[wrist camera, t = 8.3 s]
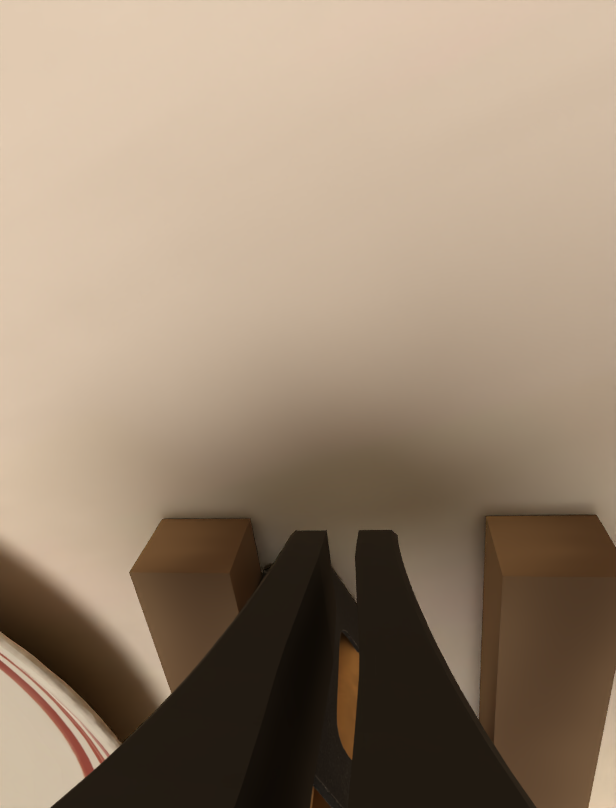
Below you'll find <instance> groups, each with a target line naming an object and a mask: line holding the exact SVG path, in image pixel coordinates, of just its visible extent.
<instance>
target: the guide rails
mask: <svg viewBox="0 0 616 808" xmlns="http://www.w3.org/2000/svg"><path fill="white" fill-rule="evenodd" d="M129 573H130V576H131V579H132V582H133V584H134V587H135V590H136V593H137V596H138V599H139V602H140V604H141V607H142V610H143V613H144V616H145V619H146V622H147V624H148V627H149V630H150V633H151V636H152V639H153V642H154V644H155V647H156V650H157V653H158V656H159V659H160V662H161V665H162V667H163V670H164V673H165V676H166V679H167V682H168V685H169V687H170V690H171V693H173V692H174V690H175V689H176V688H177V687H178V686H179V685H180V684H181V683H182V682H183V681H184V679H185V678H186V677H187V676H188V675H189V674H190V673H191V672H192V670H193V669H194V668H195V667H196V666H197V665H198V664H199V662H200V661H201V660H202V659H203V658H204V656H205V655H206V654H207V653H208V652H209V650H210V649H211V648H212V647H213V645H214V644H215V643H216V642H217V640H218V639H219V638H220V637H221V635H222V634H223V633H224V632H225V630H226V629H227V628H228V627H229V625H230V624H231V623H232V622H233V620H234V619H235V618H236V616H237V615H238V614H239V612H240V611H241V609H242V608H243V607H244V605H245V604H246V602H247V601H248V600H249V598H250V597H251V595H252V594H253V593H254V591H255V590H256V588H257V587H258V586H259V584H260V582H261V578H262V574H261V569H260V564H259V559H258V554H257V550H256V545H255V540H254V535H253V530H252V525H251V521H250V518H249V519H162V521H161V522H160V524H159V525H158V527H157V529H156V530H155V532H154V533H153V535H152V537H151V538H150V540H149V541H148V543H147V545H146V546H145V548H144V550H143V551H142V553H141V554H140V556H139V558H138V559H137V561H136V562H135V564H134V566H133V567H132V569H131V570H130V572H129ZM615 669H616V547H615V545H614V544H613V542H612V540H611V539H610V537H609V535H608V533H607V532H606V530H605V528H604V527H603V525H602V523H601V522H600V520H599V518H598V517H597V515H560V516H486V533H485V562H484V591H483V621H482V650H481V679H480V708H479V721H480V723H481V725H482V726H483V728H484V730H485V731H486V733H487V734H488V736H489V737H490V739H491V741H492V742H493V744H494V745H495V747H496V748H497V750H498V752H499V753H500V755H501V756H502V758H503V759H504V761H505V763H506V764H507V766H508V767H509V769H510V770H511V772H512V773H513V775H514V776H515V778H516V779H517V780H518V782H519V783H520V785H521V786H522V788H523V789H524V790H525V792H526V793H527V795H528V796H529V798H530V799H531V800H532V802H533V803H534V805H535V806H536V808H588V806H589V801H590V796H591V791H592V786H593V781H594V776H595V771H596V766H597V761H598V756H599V751H600V745H601V740H602V735H603V730H604V725H605V720H606V715H607V710H608V705H609V700H610V695H611V690H612V685H613V679H614V674H615Z"/></svg>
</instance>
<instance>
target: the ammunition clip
mask: <svg viewBox="0 0 616 808" xmlns="http://www.w3.org/2000/svg"><path fill="white" fill-rule="evenodd" d="M269 569H270V568H269ZM269 569H266V570H264V571H263V574H262V578H261V581H262V580H263V578H264V577H265V575H266V574H267V572H268V571H269ZM331 569H332V577H333V585H334V592H335V600H336V608H337V610H336V629H335V646H334V661H333V668H332V674H331V680H330V686H329V693H328V699H327V705H326V711H325V717H324V723H323V729H322V735H321V741H320V747H319V753H318V759H317V765H316V771H315V777H314V783H313V789H312V796H311V804H310V808H348V800H349V789H350V777H351V766H352V755H353V744H354V733H355V720H356V707H357V695H358V682H359V634H358V612H357V605H356V603H355V602H354V600H353V599H352V597H351V596H350V594H349V593H348V591H347V589H346V588H345V586H344V585H343V583H342V582H341V580H340V579H339V577H338V576H337V574H336V573H335V571H334V570H333V568H332V567H331ZM260 583H261V582H260Z"/></svg>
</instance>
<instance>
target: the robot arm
mask: <svg viewBox="0 0 616 808" xmlns="http://www.w3.org/2000/svg"><path fill="white" fill-rule="evenodd" d="M355 567H356V590H357V612H358V634H359V682H358V695H357V707H356V720H355V733H354V744H353V755H352V766H351V777H350V789H349V800H348V808H536V806H535V805H534V803H533V802H532V800H531V799H530V798H529V796H528V795H527V793H526V792H525V790H524V789H523V788H522V786H521V785H520V783H519V782H518V780H517V779H516V778H515V776H514V775H513V773H512V772H511V770H510V769H509V767H508V766H507V764H506V763H505V761H504V759H503V758H502V756H501V755H500V753H499V752H498V750H497V748H496V747H495V745H494V744H493V742H492V741H491V739H490V737H489V736H488V734H487V733H486V731H485V730H484V728H483V726H482V725H481V723H480V721H479V720H478V718H477V716H476V715H475V713H474V711H473V710H472V708H471V706H470V705H469V703H468V701H467V700H466V698H465V696H464V694H463V693H462V691H461V689H460V687H459V685H458V684H457V682H456V680H455V678H454V676H453V674H452V673H451V671H450V669H449V667H448V665H447V663H446V661H445V659H444V657H443V655H442V653H441V652H440V650H439V648H438V646H437V644H436V642H435V640H434V638H433V635H432V633H431V631H430V629H429V627H428V625H427V623H426V620H425V618H424V616H423V613H422V611H421V609H420V607H419V604H418V602H417V600H416V597H415V595H414V592H413V590H412V587H411V585H410V582H409V579H408V576H407V573H406V570H405V567H404V564H403V561H402V557H401V553H400V549H399V544H398V535H397V534H396V533H394V532H393V531H392V530H359V533H358V539H357V546H356V553H355ZM336 610H337V608H336V600H335V592H334V585H333V577H332V569H331V561H330V554H329V546H328V538H327V530H323V531H295V532H294V533H293V534H292V535H291V536H290V538H289V539H288V541H287V543H286V544H285V546H284V547H283V549H282V551H281V552H280V554H279V556H278V557H277V559H276V560H275V562H274V563H273V565H272V566H271V568H270V569H269V571H268V572H267V574H266V575H265V577H264V578H263V580H262V581H261V583H260V584H259V586H258V587H257V588H256V590H255V591H254V593H253V594H252V595H251V597H250V598H249V600H248V601H247V602H246V604H245V605H244V607H243V608H242V609H241V611H240V612H239V614H238V615H237V616H236V618H235V619H234V620H233V622H232V623H231V624H230V625H229V627H228V628H227V629H226V630H225V632H224V633H223V634H222V635H221V637H220V638H219V639H218V640H217V642H216V643H215V644H214V645H213V647H212V648H211V649H210V650H209V652H208V653H207V654H206V655H205V656H204V658H203V659H202V660H201V661H200V662H199V664H198V665H197V666H196V667H195V668H194V669H193V670H192V672H191V673H190V674H189V675H188V676H187V677H186V678H185V679H184V681H183V682H182V683H181V684H180V685H179V686H178V687H177V688H176V689H175V690H174V692H173V693H172V694H171V695H170V696H169V697H168V698H167V699H166V700H165V701H164V702H163V703H162V704H161V705H160V706H159V707H158V709H157V710H156V711H155V712H154V713H153V714H152V715H151V716H150V717H149V718H148V719H147V720H146V721H144V722H143V723H142V724H141V725H140V726H139V727H138V728H137V729H136V730H135V731H134V732H133V733H132V734H131V735H130V736H129V737H128V738H127V739H126V740H125V741H124V742H123V743H122V744H121V745H120V746H119V747H118V748H117V749H116V750H115V751H114V752H113V753H112V754H111V755H110V756H108V757H107V758H106V759H105V760H104V761H103V762H102V763H101V764H100V765H99V766H98V767H97V768H95V769H94V770H93V771H92V772H91V773H90V774H89V775H87V776H86V777H85V778H84V779H83V780H82V781H80V782H79V783H78V784H77V785H76V786H75V787H73V788H72V789H71V790H70V791H69V792H68V793H67V794H65V795H64V796H63V797H62V798H61V799H60V800H58V801H57V802H56V803H55V804H54V805H53V806H51V807H50V808H310V804H311V796H312V789H313V783H314V777H315V771H316V765H317V759H318V753H319V747H320V741H321V735H322V729H323V723H324V717H325V711H326V705H327V699H328V693H329V686H330V680H331V674H332V668H333V661H334V646H335V629H336Z"/></svg>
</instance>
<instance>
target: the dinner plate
mask: <svg viewBox="0 0 616 808" xmlns="http://www.w3.org/2000/svg"><path fill="white" fill-rule="evenodd" d="M121 744H122V743H121V742H120V741H119V740H118V739H117V736H115V735H114V733H113V732H112V731H111V730H110V728H109V727H108V726H107V725H106V724H105V722H104V721H103V720H102V719H101V718H100V717H99V716H98V715H97V713H96V712H95V711H94V710H93V709H92V708H91V707H90V706H89V705H88V704H87V703H86V702H85V701H84V700H83V699H82V698H81V697H80V696H79V695H78V694H77V693H76V692H75V691H74V690H73V689H72V688H71V687H70V686H69V685H67V684H66V683H65V682H64V681H63V680H62V679H60V678H59V677H58V676H57V675H56V674H54V673H53V672H52V671H51V670H50V669H48V668H47V667H46V666H45V665H44V664H42V663H41V662H40V661H39V660H38V659H37V658H35V657H34V656H33V655H32V654H30V653H29V652H28V651H26V650H25V649H23V648H22V647H21V646H19V645H18V644H16V643H15V642H13V641H12V640H11V639H9V638H8V637H7V636H5V635H4V634H3V633H1V632H0V808H50V807H51V806H53V805H54V804H55V803H56V802H57V801H58V800H60V799H61V798H62V797H63V796H64V795H65V794H67V793H68V792H69V791H70V790H71V789H72V788H73V787H75V786H76V785H77V784H78V783H79V782H80V781H82V780H83V779H84V778H85V777H86V776H87V775H89V774H90V773H91V772H92V771H93V770H94V769H95V768H97V767H98V766H99V765H100V764H101V763H102V762H103V761H104V760H105V759H106V758H107V757H108V756H110V755H111V754H112V753H113V752H114V751H115V750H116V749H117V748H118V747H119V746H120V745H121Z"/></svg>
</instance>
